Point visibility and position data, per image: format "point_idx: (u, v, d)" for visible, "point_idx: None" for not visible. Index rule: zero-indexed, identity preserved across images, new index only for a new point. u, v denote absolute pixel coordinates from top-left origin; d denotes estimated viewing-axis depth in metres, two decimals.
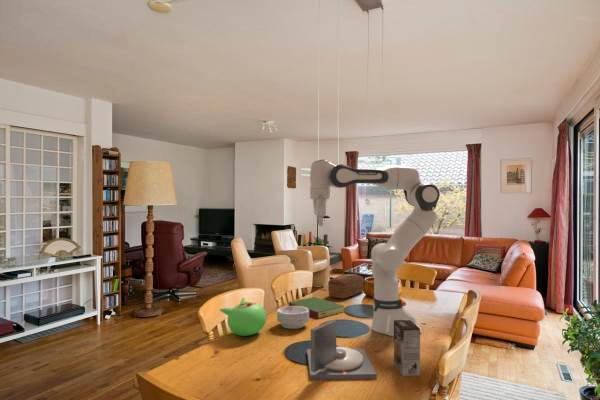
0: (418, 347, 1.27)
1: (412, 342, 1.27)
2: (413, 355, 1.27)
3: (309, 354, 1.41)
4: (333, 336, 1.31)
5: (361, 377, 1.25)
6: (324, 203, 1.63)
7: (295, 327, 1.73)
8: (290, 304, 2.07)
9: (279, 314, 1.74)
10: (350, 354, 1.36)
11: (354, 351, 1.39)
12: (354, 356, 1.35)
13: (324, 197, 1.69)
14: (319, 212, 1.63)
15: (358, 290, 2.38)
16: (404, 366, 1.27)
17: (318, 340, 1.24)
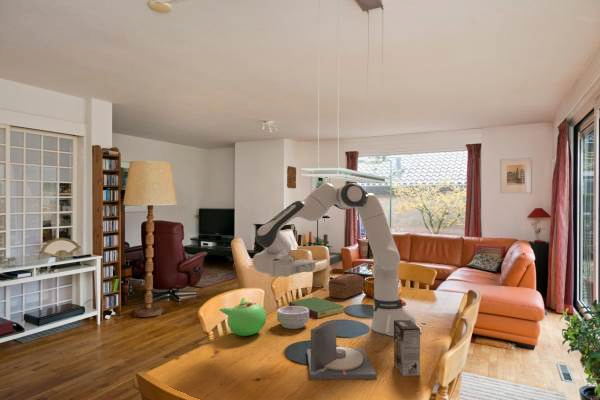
0: (418, 347, 1.27)
1: (412, 342, 1.27)
2: (413, 355, 1.27)
3: (309, 354, 1.41)
4: (333, 336, 1.31)
5: (361, 377, 1.25)
6: None
7: (295, 327, 1.73)
8: (290, 304, 2.07)
9: (279, 314, 1.74)
10: (350, 354, 1.36)
11: (354, 351, 1.39)
12: (354, 356, 1.35)
13: None
14: None
15: (358, 290, 2.38)
16: (404, 366, 1.27)
17: (318, 340, 1.24)
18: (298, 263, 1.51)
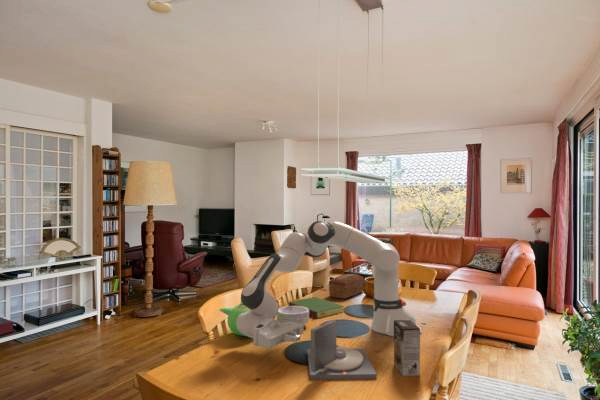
0: (418, 347, 1.27)
1: (412, 342, 1.27)
2: (413, 355, 1.27)
3: (309, 354, 1.41)
4: (333, 336, 1.31)
5: (361, 377, 1.25)
6: None
7: None
8: (290, 304, 2.07)
9: (279, 314, 1.74)
10: (350, 354, 1.36)
11: (354, 351, 1.39)
12: (354, 356, 1.35)
13: None
14: None
15: (358, 290, 2.38)
16: (404, 366, 1.27)
17: (318, 340, 1.24)
18: (284, 330, 1.38)
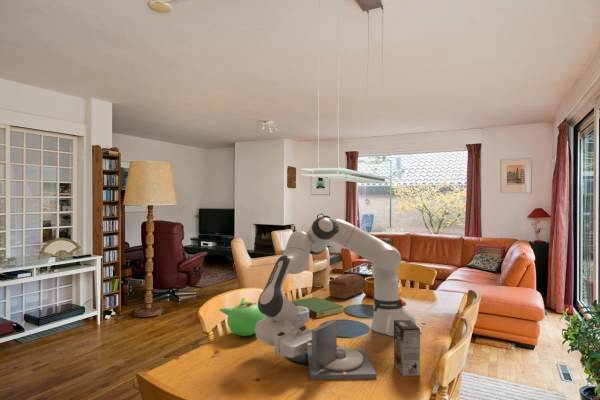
0: (418, 347, 1.27)
1: (412, 342, 1.27)
2: (413, 355, 1.27)
3: (309, 354, 1.41)
4: (333, 336, 1.31)
5: (361, 377, 1.25)
6: None
7: None
8: None
9: None
10: (350, 354, 1.36)
11: (354, 351, 1.40)
12: (354, 356, 1.35)
13: None
14: None
15: (359, 290, 2.38)
16: (404, 366, 1.27)
17: (319, 340, 1.24)
18: (307, 338, 1.32)
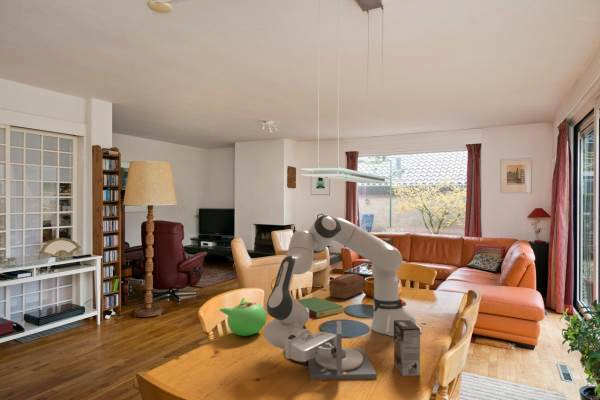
0: (418, 347, 1.27)
1: (412, 342, 1.27)
2: (413, 355, 1.27)
3: None
4: None
5: (361, 377, 1.25)
6: None
7: None
8: None
9: None
10: (347, 352, 1.38)
11: (345, 348, 1.42)
12: (351, 353, 1.38)
13: None
14: None
15: (359, 290, 2.38)
16: (404, 366, 1.27)
17: None
18: (318, 341, 1.29)
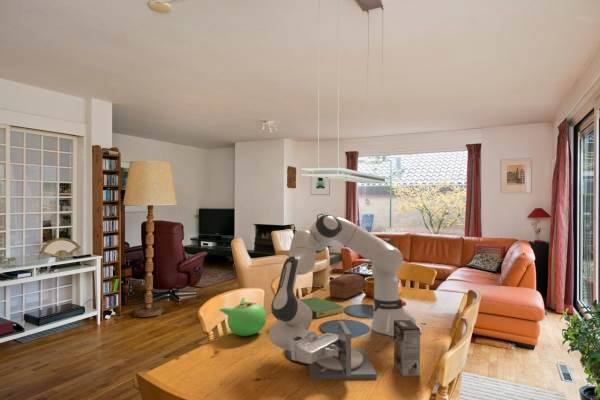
0: (418, 347, 1.27)
1: (412, 342, 1.27)
2: (413, 355, 1.27)
3: None
4: None
5: (361, 377, 1.25)
6: None
7: None
8: None
9: None
10: None
11: None
12: None
13: None
14: None
15: (359, 290, 2.38)
16: (404, 366, 1.27)
17: None
18: (324, 343, 1.27)
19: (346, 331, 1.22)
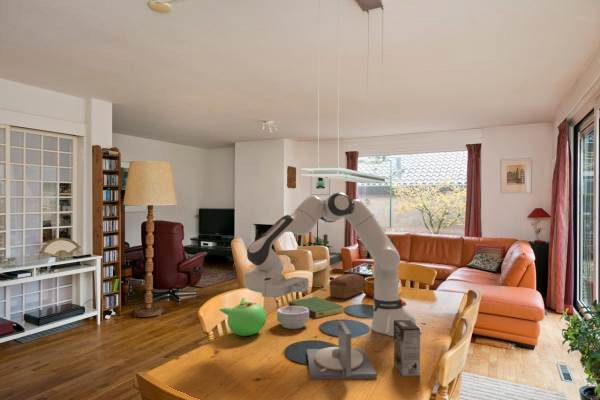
0: (418, 347, 1.27)
1: (412, 342, 1.27)
2: (413, 355, 1.27)
3: (309, 354, 1.41)
4: None
5: (361, 377, 1.25)
6: None
7: (295, 327, 1.73)
8: (290, 303, 2.08)
9: (279, 314, 1.74)
10: None
11: None
12: None
13: None
14: None
15: (359, 290, 2.38)
16: (404, 366, 1.27)
17: None
18: (291, 282, 1.46)
19: (346, 331, 1.22)
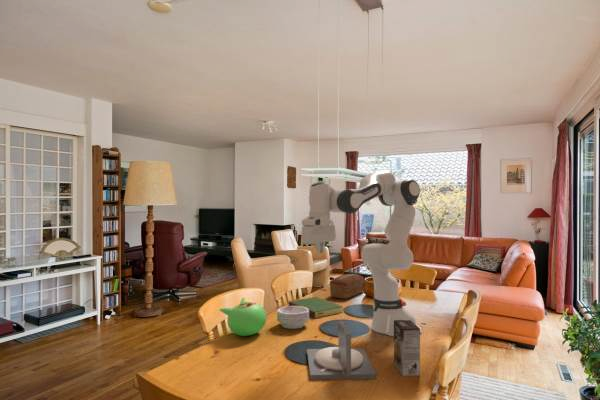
0: (418, 347, 1.27)
1: (412, 342, 1.27)
2: (413, 355, 1.27)
3: (309, 354, 1.41)
4: None
5: (361, 377, 1.25)
6: None
7: (295, 327, 1.73)
8: (290, 303, 2.08)
9: (279, 314, 1.74)
10: None
11: None
12: None
13: None
14: None
15: (359, 290, 2.38)
16: (404, 366, 1.27)
17: None
18: (322, 239, 1.57)
19: (346, 331, 1.22)
